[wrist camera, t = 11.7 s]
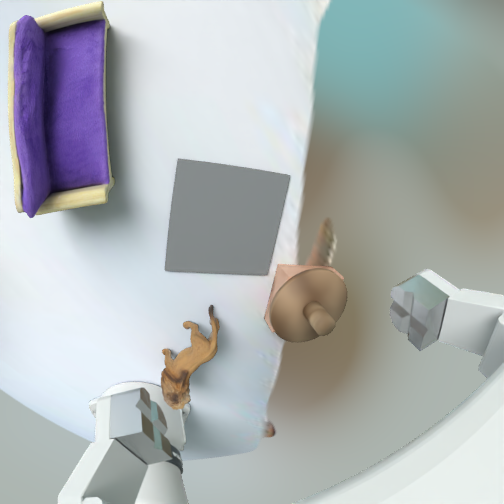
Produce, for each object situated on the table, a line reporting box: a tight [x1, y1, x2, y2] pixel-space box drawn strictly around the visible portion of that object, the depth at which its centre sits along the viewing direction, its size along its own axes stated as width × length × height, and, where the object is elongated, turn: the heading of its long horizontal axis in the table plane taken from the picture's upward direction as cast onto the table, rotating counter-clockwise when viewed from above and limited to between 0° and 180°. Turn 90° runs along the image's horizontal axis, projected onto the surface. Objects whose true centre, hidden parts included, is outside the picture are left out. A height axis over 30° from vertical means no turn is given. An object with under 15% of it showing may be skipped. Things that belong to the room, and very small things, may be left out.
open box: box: [264, 264, 344, 332], centre depth 44 cm, size 9×9×4 cm
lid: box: [269, 268, 347, 342], centre depth 40 cm, size 12×12×5 cm
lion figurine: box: [161, 305, 220, 410], centre depth 39 cm, size 15×5×9 cm, turn 145°
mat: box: [165, 159, 290, 275], centre depth 37 cm, size 14×14×1 cm
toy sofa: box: [8, 1, 115, 218], centre depth 22 cm, size 21×9×10 cm, turn 0°
